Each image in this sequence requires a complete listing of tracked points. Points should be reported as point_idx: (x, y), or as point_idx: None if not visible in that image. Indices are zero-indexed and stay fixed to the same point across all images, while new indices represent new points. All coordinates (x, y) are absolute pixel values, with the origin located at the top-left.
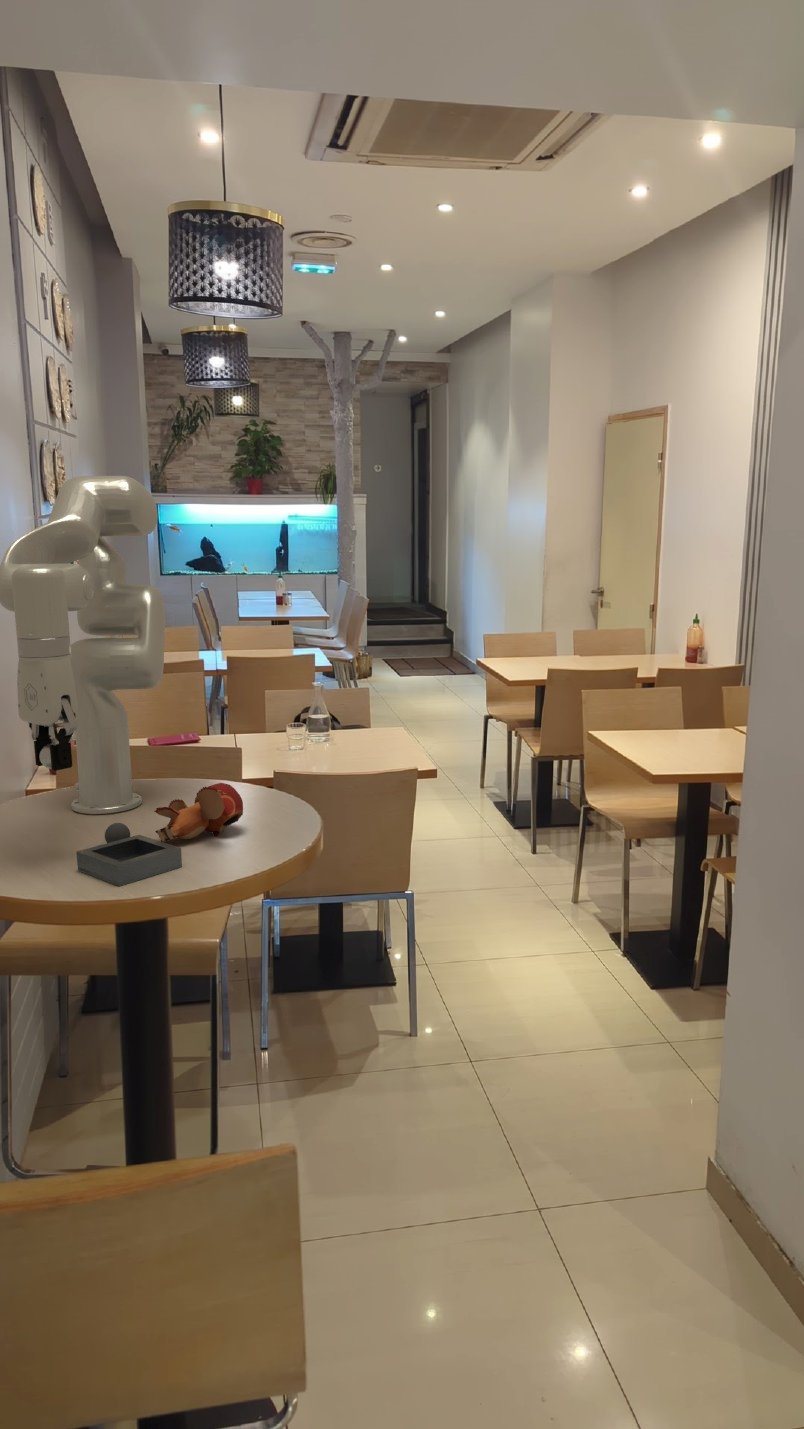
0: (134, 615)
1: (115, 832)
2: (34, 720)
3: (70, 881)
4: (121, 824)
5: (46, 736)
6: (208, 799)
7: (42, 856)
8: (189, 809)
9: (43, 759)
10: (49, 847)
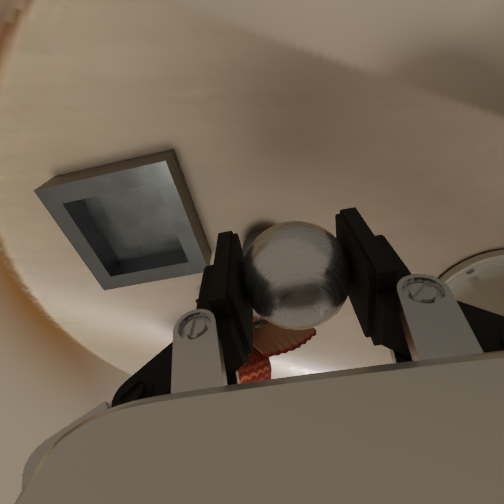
0: None
1: (246, 249)
2: (296, 404)
3: (116, 117)
4: None
5: (382, 331)
6: None
7: (302, 121)
8: None
9: (271, 233)
10: (347, 150)
